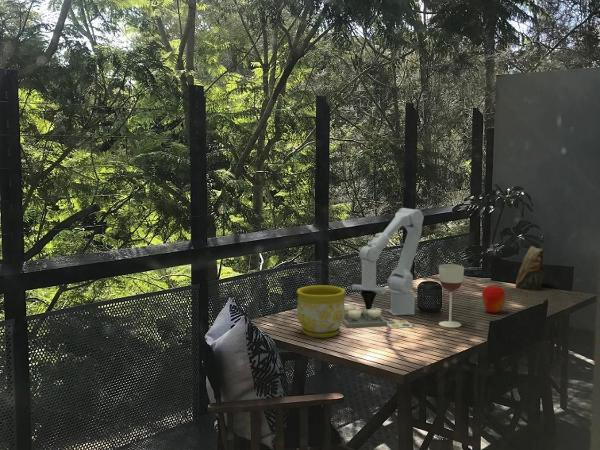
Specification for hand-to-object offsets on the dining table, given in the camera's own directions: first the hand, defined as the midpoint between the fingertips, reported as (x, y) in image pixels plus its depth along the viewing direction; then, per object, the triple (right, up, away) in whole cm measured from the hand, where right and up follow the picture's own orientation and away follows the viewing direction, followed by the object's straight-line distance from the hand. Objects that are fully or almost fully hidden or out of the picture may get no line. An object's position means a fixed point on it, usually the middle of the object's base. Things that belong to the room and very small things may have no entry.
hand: (368, 308), depth 258 cm
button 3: (0, -3, 0) cm, 3 cm away
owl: (+84, +3, +55) cm, 100 cm away
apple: (+53, -3, +9) cm, 54 cm away
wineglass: (+31, -5, -8) cm, 32 cm away
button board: (-3, -5, -4) cm, 7 cm away
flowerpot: (-20, -7, -19) cm, 28 cm away
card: (+11, -5, -9) cm, 15 cm away
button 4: (+1, -3, -8) cm, 8 cm away
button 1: (-8, -2, -1) cm, 8 cm away
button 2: (-7, -3, -9) cm, 11 cm away
